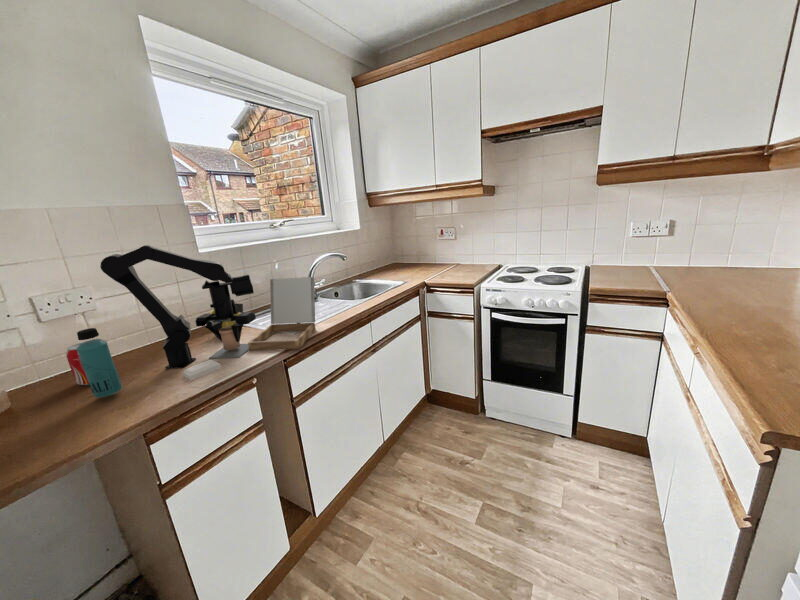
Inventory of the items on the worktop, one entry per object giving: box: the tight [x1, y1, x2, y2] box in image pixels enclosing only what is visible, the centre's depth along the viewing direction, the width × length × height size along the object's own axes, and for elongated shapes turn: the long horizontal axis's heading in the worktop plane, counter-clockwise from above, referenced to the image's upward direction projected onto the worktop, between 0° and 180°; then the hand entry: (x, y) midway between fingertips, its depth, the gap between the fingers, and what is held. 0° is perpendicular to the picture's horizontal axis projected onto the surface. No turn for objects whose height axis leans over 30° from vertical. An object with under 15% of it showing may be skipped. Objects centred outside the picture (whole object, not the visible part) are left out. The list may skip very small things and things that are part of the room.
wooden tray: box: [247, 322, 317, 352], centre depth 126 cm, size 18×18×3 cm
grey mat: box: [208, 343, 249, 360], centre depth 119 cm, size 11×11×1 cm
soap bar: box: [182, 359, 222, 381], centre depth 104 cm, size 5×9×3 cm, turn 141°
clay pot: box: [219, 326, 241, 350], centre depth 117 cm, size 6×6×7 cm
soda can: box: [65, 342, 89, 386], centre depth 103 cm, size 7×7×12 cm
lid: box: [269, 276, 316, 325], centre depth 135 cm, size 18×18×1 cm
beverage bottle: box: [76, 327, 123, 398], centre depth 91 cm, size 6×7×20 cm
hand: (231, 341), depth 118 cm, fingers closed on clay pot, 5 cm apart
